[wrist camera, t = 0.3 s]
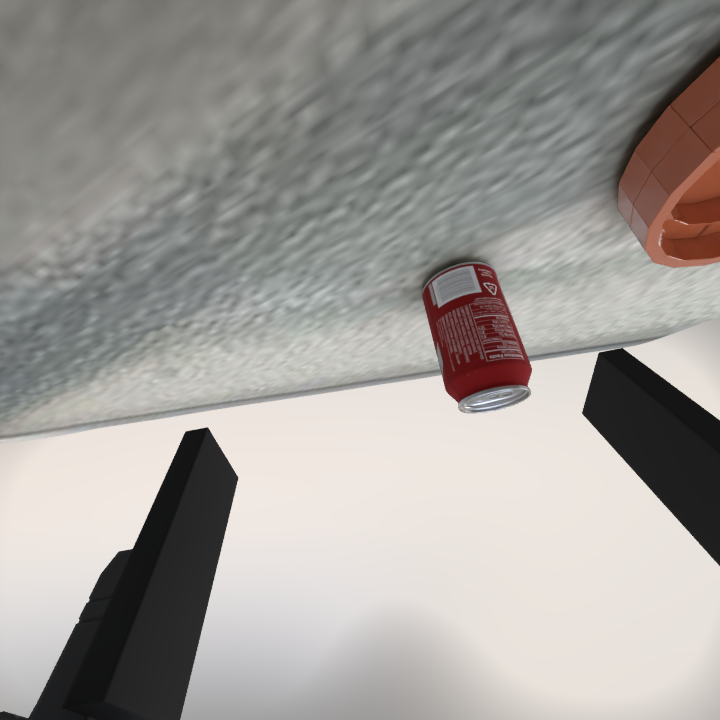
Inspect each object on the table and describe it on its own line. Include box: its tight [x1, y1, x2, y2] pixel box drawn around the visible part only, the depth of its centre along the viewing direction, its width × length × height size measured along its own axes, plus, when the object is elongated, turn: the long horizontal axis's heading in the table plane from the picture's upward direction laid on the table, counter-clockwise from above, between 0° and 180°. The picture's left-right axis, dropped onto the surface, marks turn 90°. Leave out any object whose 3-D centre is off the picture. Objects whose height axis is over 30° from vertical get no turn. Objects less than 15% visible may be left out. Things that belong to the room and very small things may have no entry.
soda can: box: [422, 262, 532, 413], centre depth 30 cm, size 7×7×12 cm
